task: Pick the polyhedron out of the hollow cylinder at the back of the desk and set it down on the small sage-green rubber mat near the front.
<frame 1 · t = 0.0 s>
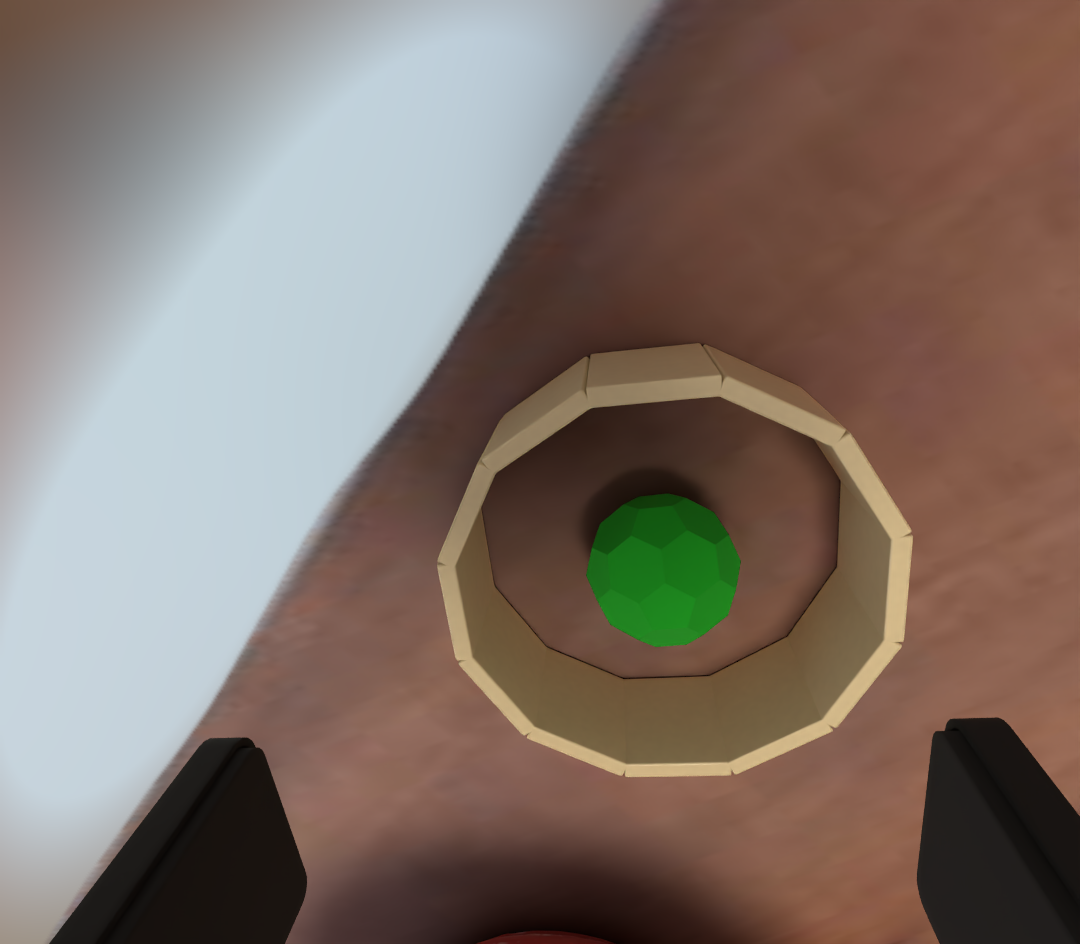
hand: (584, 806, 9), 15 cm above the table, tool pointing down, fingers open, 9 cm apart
polyhedron: (656, 533, 25), on the table
hollow cylinder: (657, 535, 24), on the table
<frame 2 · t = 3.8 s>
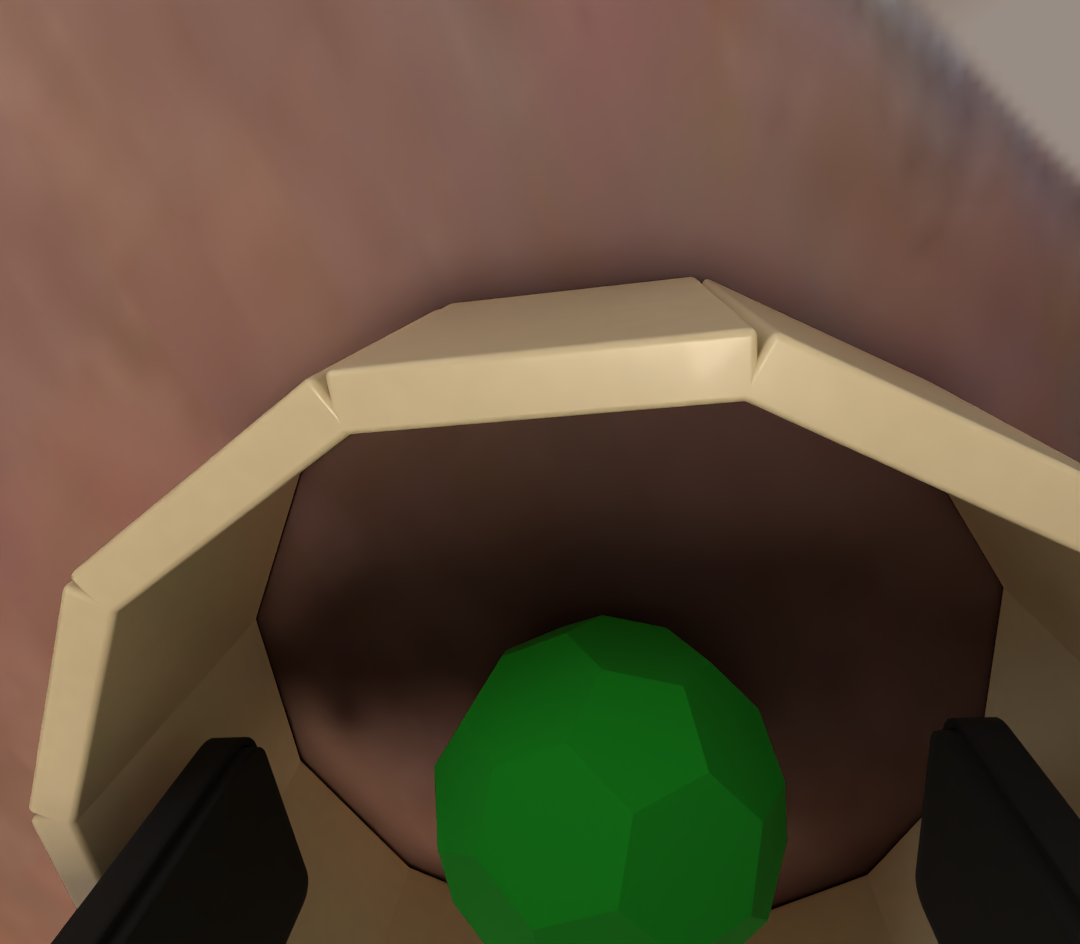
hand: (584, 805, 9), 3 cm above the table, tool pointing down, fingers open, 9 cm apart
polyhedron: (608, 677, 12), on the table
hollow cylinder: (607, 684, 12), on the table
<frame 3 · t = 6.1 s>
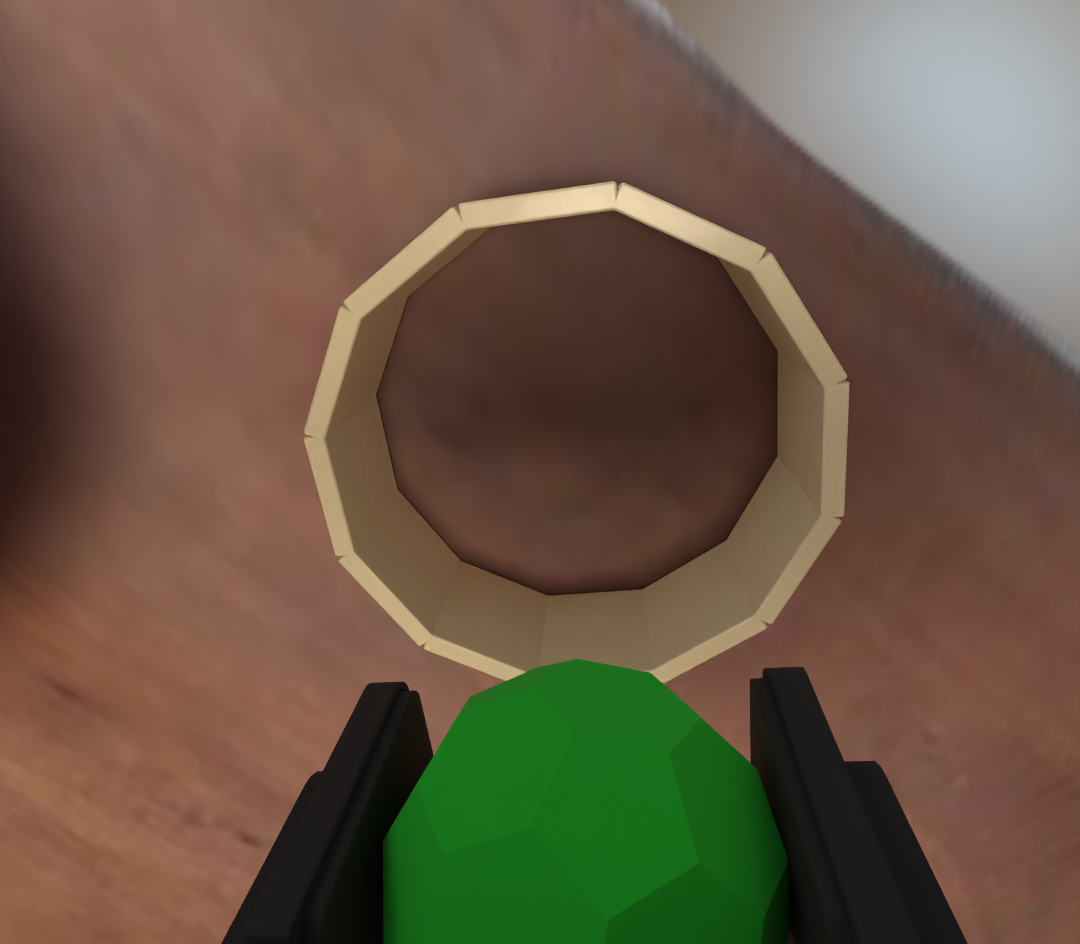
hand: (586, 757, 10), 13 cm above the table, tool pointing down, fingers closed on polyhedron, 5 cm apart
polyhedron: (588, 719, 11), point 12 cm above the table, touching gripper
hollow cylinder: (575, 424, 22), on the table
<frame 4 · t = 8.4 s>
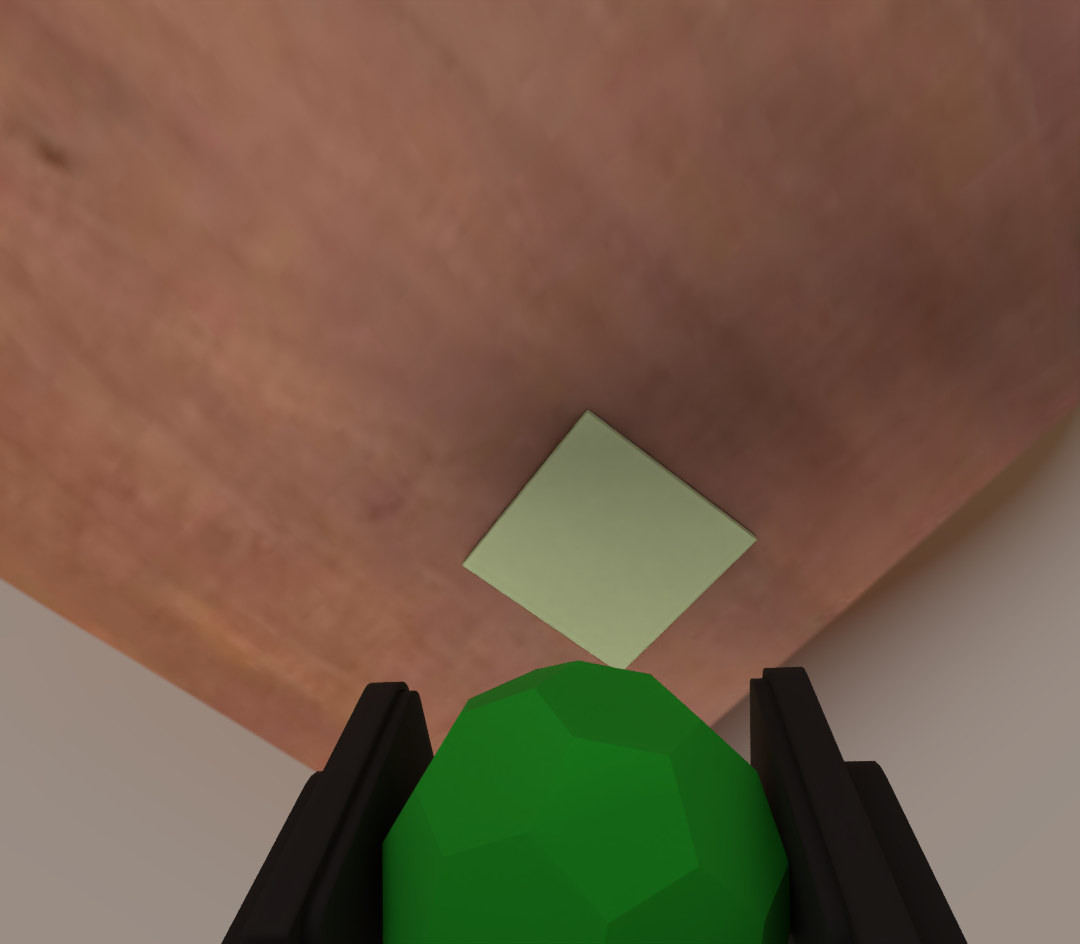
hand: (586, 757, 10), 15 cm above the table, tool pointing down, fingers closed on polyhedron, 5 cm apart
polyhedron: (588, 721, 11), point 14 cm above the table, touching gripper
mat: (605, 548, 26), on the table
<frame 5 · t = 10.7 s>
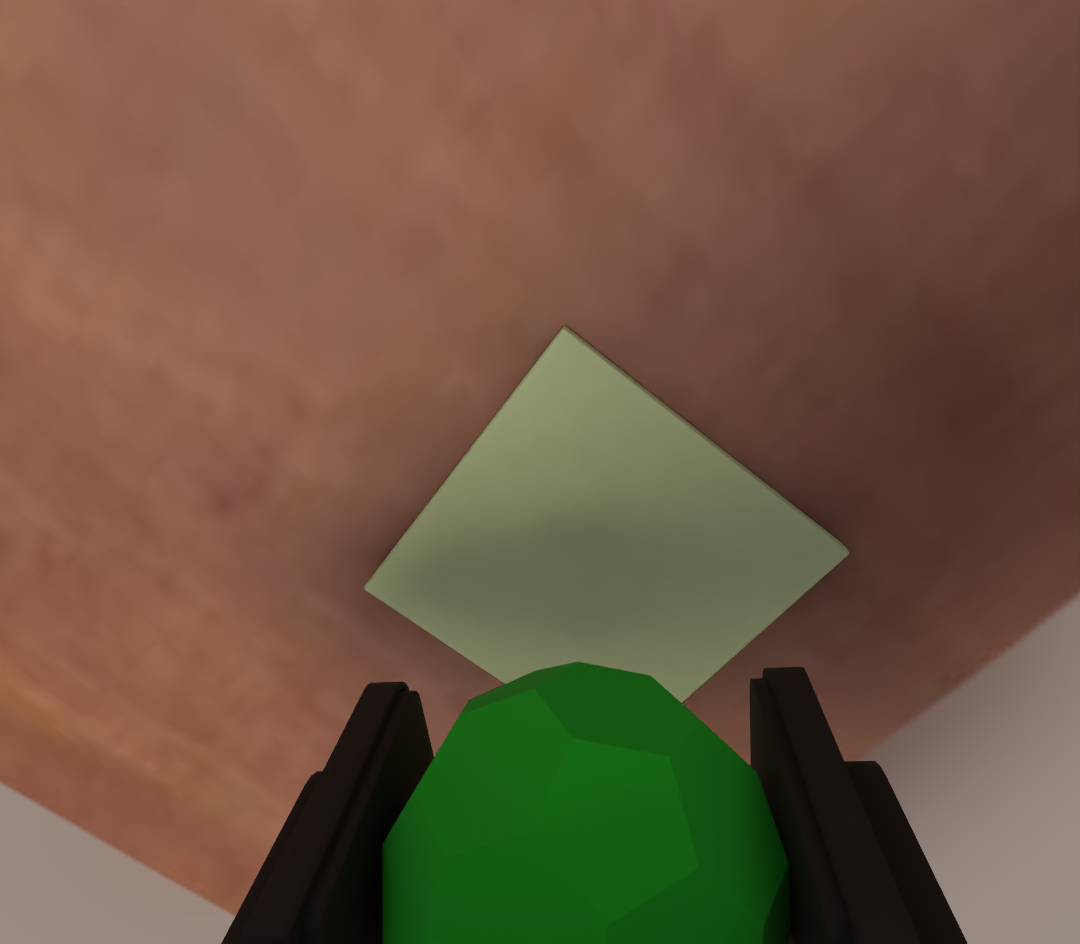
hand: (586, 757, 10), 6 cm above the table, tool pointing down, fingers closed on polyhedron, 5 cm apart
polyhedron: (588, 722, 11), point 5 cm above the table, touching gripper
mat: (594, 563, 16), on the table
when the fingers open (1 cm above the table, at t = 12.3 s): polyhedron stays where it is, resting on mat.
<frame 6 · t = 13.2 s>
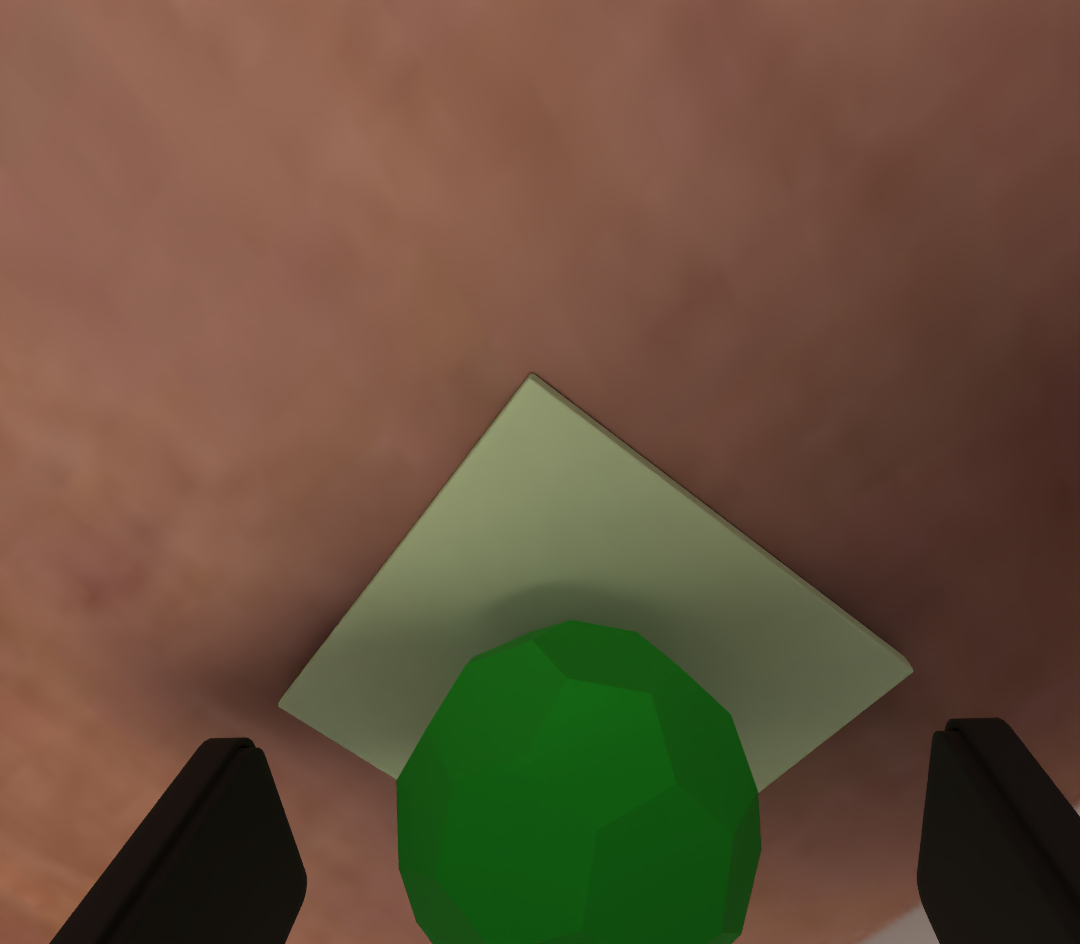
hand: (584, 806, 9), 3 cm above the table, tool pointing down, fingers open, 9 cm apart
polyhedron: (580, 682, 12), resting on mat
mat: (576, 675, 12), on the table
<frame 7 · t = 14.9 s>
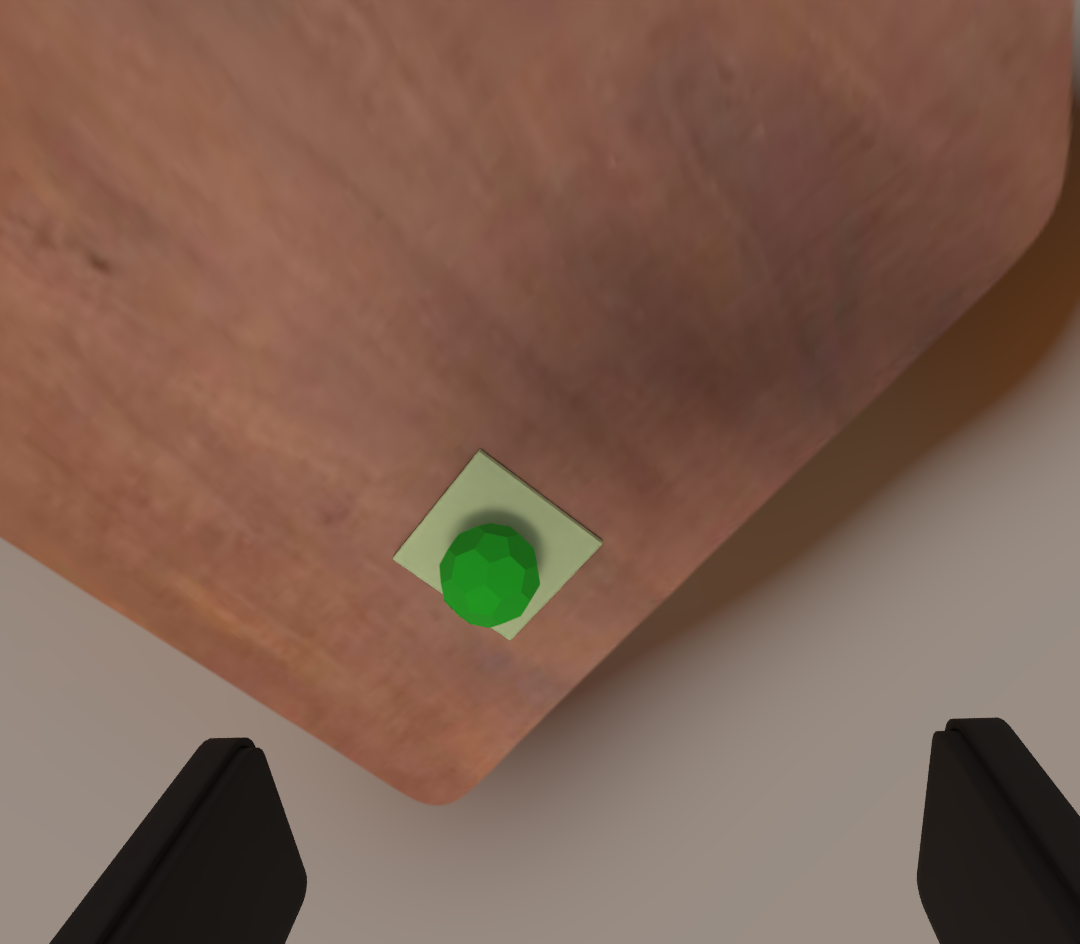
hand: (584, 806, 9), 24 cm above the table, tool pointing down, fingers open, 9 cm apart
polyhedron: (497, 549, 35), resting on mat
mat: (496, 548, 35), on the table
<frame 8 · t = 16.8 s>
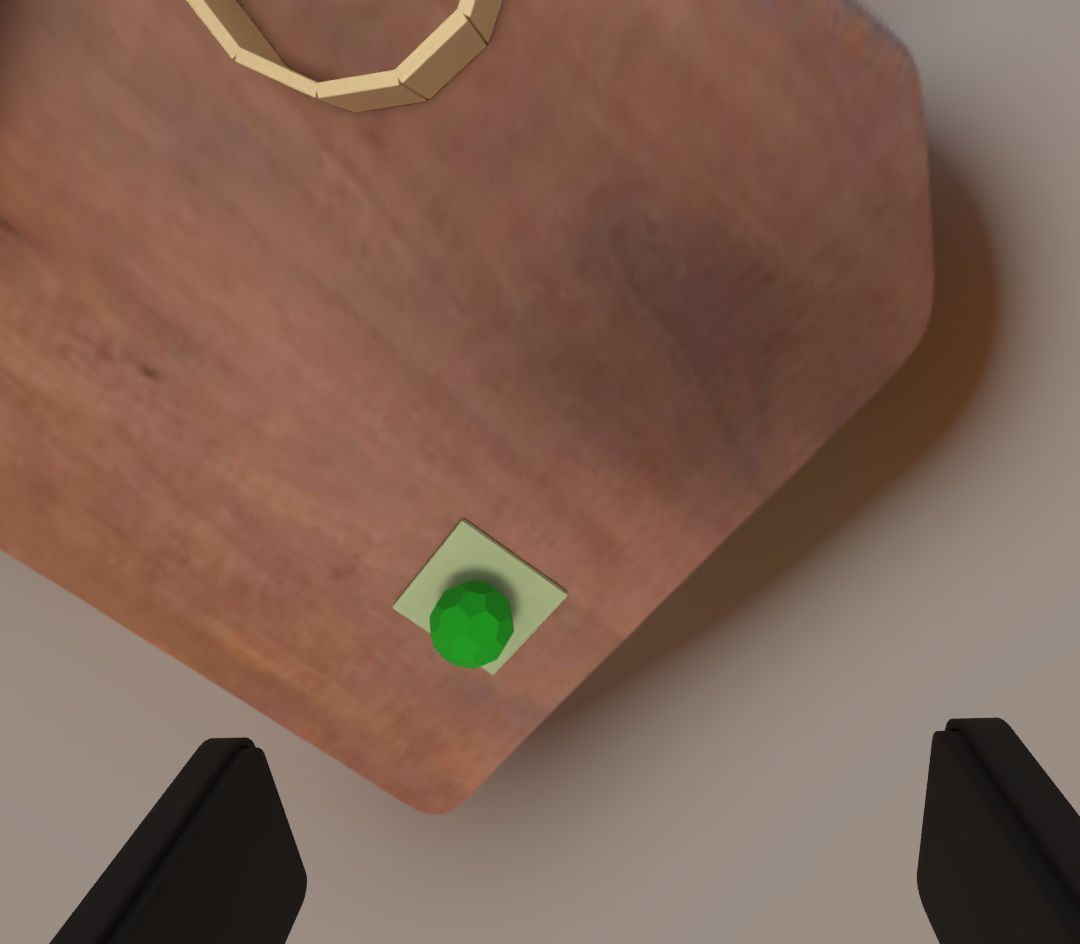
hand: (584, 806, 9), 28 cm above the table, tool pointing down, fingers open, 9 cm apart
polyhedron: (480, 600, 41), resting on mat
mat: (479, 598, 42), on the table
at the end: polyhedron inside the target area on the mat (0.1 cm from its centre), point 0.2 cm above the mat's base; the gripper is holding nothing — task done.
